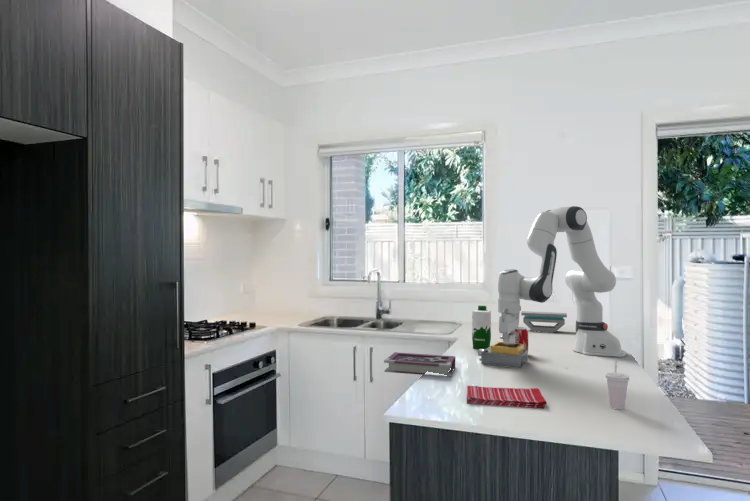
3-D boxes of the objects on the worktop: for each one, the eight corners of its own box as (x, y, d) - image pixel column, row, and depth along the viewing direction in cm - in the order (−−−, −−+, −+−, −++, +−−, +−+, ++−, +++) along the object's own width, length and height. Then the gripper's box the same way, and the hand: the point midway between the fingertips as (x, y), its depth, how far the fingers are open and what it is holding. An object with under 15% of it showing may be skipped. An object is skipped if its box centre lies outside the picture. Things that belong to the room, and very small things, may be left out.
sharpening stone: (566, 331, 285) (566, 313, 285) (566, 333, 278) (566, 314, 278) (521, 329, 294) (522, 311, 294) (521, 331, 286) (521, 312, 286)
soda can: (529, 356, 217) (529, 329, 217) (512, 355, 218) (512, 328, 218) (527, 353, 224) (527, 327, 224) (511, 352, 225) (511, 326, 225)
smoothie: (601, 404, 148) (601, 358, 148) (621, 404, 149) (621, 358, 149) (613, 411, 142) (613, 363, 142) (634, 410, 142) (634, 363, 142)
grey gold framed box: (527, 361, 206) (527, 343, 206) (520, 368, 194) (520, 349, 194) (481, 356, 216) (481, 339, 216) (472, 362, 204) (472, 344, 204)
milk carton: (491, 346, 239) (492, 305, 239) (489, 349, 231) (489, 307, 231) (474, 345, 242) (474, 305, 242) (470, 348, 234) (470, 306, 234)
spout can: (516, 350, 204) (516, 333, 204) (513, 352, 200) (513, 335, 200) (501, 348, 207) (501, 332, 207) (498, 350, 203) (498, 334, 203)
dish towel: (547, 410, 144) (547, 402, 144) (466, 405, 148) (466, 397, 148) (539, 394, 161) (539, 386, 161) (467, 390, 165) (467, 382, 165)
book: (384, 373, 187) (384, 360, 187) (394, 363, 203) (394, 352, 203) (449, 378, 180) (449, 365, 180) (455, 368, 196) (455, 356, 196)
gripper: (510, 311, 193) (510, 346, 193) (521, 306, 211) (521, 338, 211) (494, 310, 196) (494, 344, 196) (507, 305, 214) (507, 337, 214)
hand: (508, 341), depth 203 cm, fingers open, 8 cm apart
